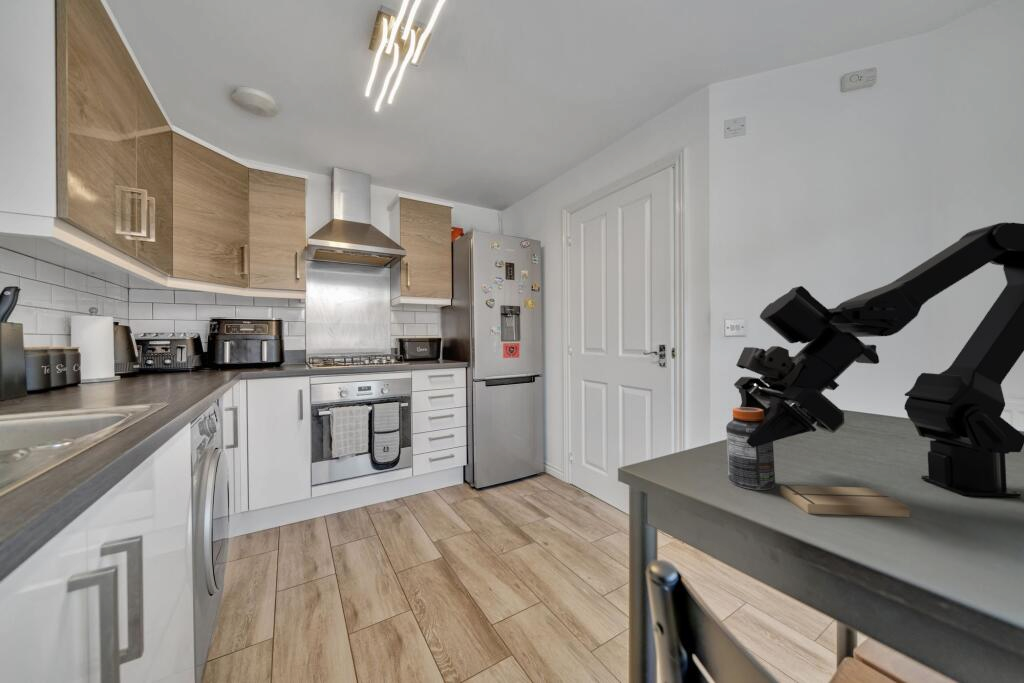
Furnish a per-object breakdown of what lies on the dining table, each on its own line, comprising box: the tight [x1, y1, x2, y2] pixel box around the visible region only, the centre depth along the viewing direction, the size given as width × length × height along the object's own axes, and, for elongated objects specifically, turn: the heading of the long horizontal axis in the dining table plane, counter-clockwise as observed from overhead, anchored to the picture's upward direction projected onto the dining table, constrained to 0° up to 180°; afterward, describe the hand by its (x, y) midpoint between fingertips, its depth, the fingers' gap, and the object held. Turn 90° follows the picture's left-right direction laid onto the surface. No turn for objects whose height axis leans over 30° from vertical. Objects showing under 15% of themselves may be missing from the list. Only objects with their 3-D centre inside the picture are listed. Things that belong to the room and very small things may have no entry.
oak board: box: [779, 485, 911, 518], centre depth 48 cm, size 11×6×1 cm, turn 81°
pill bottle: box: [725, 406, 776, 491], centre depth 56 cm, size 6×6×11 cm
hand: (739, 439), depth 57 cm, fingers closed on pill bottle, 6 cm apart
